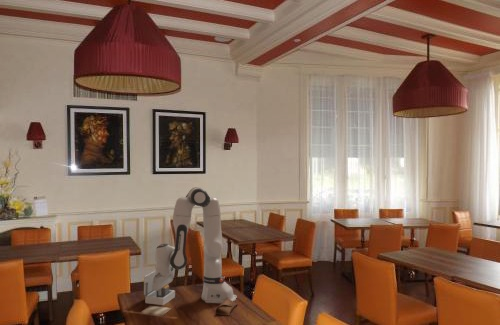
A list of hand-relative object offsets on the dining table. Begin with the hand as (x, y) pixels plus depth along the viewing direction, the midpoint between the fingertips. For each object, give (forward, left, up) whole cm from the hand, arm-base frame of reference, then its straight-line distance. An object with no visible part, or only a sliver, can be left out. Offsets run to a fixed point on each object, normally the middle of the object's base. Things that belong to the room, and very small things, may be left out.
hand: (162, 293), depth 240 cm
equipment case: (+2, 0, -5) cm, 5 cm away
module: (0, 0, -3) cm, 3 cm away
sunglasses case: (-42, 0, -5) cm, 42 cm away
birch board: (-4, +15, -5) cm, 17 cm away
